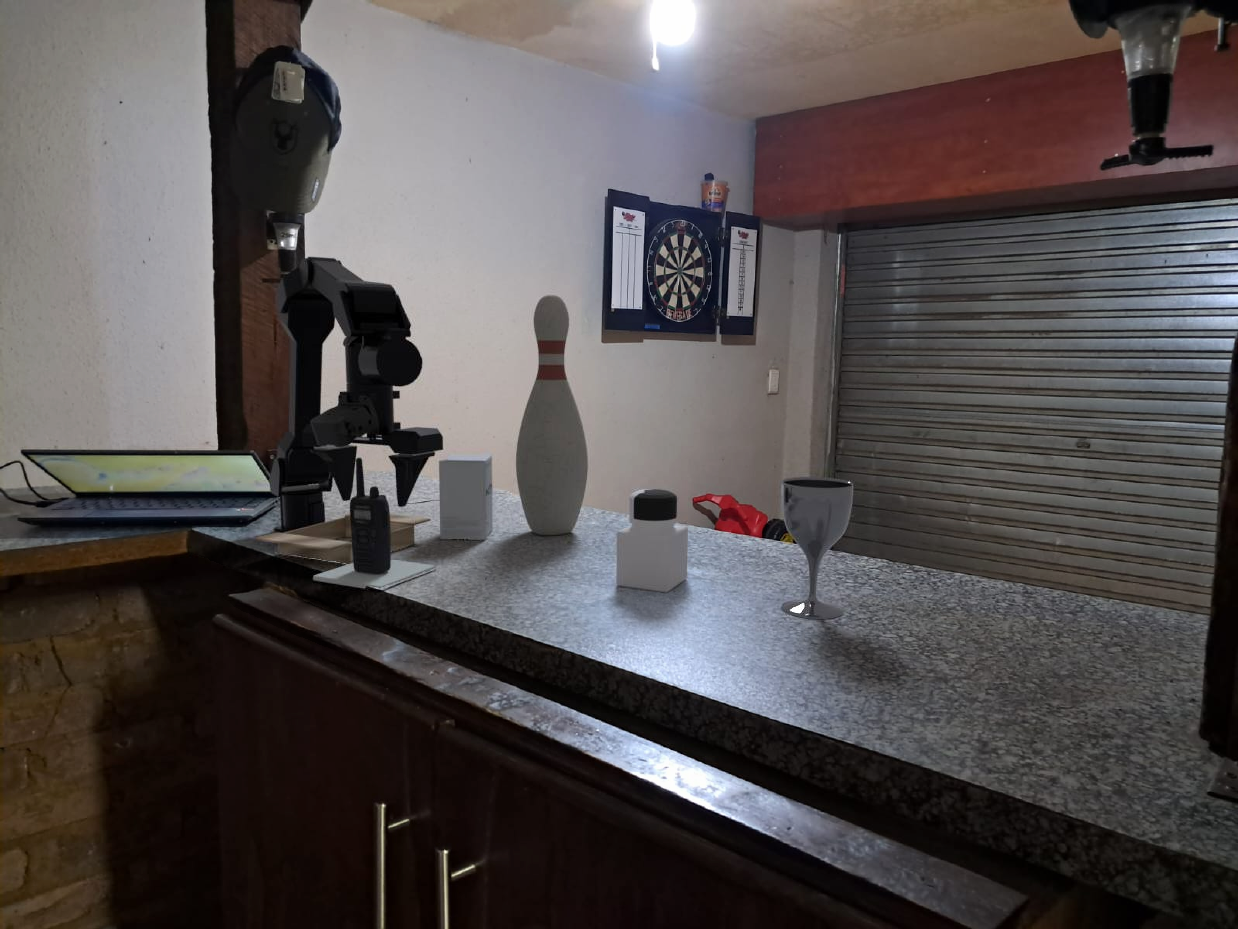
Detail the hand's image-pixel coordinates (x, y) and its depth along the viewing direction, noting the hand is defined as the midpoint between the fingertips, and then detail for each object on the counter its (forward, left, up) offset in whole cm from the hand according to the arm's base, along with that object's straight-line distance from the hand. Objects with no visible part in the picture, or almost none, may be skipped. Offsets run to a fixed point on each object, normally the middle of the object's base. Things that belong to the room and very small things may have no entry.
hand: (373, 503), depth 109 cm
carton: (-13, +9, -10) cm, 18 cm away
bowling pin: (+8, +33, -10) cm, 35 cm away
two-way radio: (0, 0, -9) cm, 9 cm away
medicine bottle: (+34, +13, -10) cm, 38 cm away
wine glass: (+55, +11, -10) cm, 57 cm away
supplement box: (-3, +25, -10) cm, 27 cm away
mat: (0, 0, -10) cm, 10 cm away
